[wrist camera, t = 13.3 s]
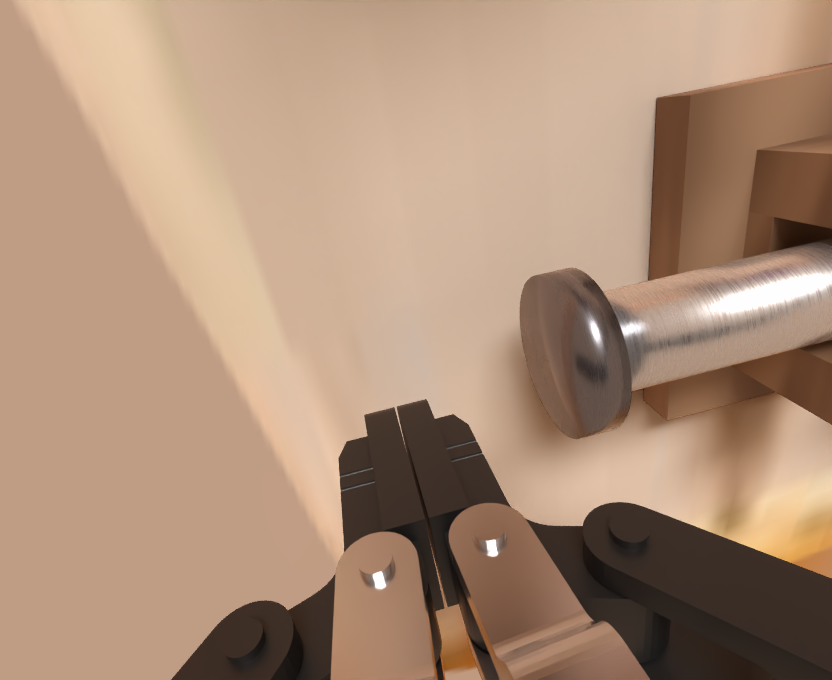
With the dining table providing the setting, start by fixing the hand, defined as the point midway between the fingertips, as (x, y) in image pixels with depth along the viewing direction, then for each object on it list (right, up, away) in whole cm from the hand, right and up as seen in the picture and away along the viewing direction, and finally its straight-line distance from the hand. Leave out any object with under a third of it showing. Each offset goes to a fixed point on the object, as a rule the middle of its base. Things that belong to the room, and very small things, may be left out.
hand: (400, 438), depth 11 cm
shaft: (+13, +5, +5) cm, 15 cm away
